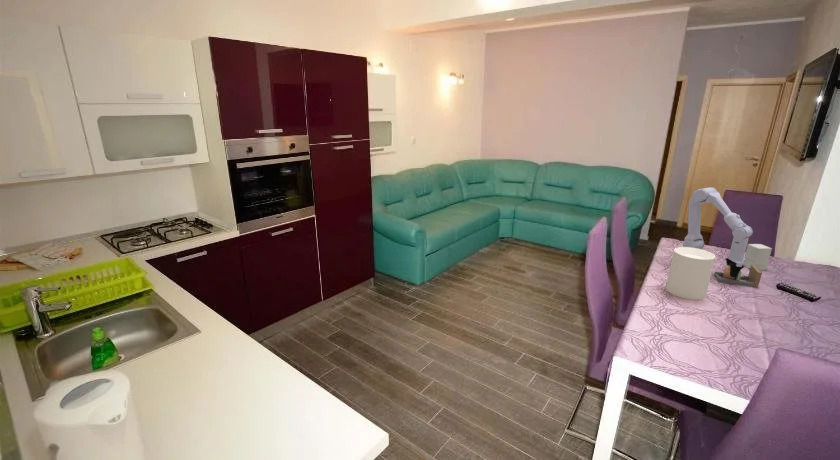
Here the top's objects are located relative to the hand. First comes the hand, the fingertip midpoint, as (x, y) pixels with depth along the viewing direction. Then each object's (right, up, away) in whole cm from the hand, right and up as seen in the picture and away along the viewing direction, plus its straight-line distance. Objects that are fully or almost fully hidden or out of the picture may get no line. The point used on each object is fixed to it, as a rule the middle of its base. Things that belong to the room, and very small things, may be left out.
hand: (731, 274), depth 194 cm
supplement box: (+25, +2, +16) cm, 30 cm away
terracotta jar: (-1, -1, +1) cm, 2 cm away
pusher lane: (+1, -3, 0) cm, 3 cm away
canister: (-31, -7, -10) cm, 33 cm away
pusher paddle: (+3, -3, 0) cm, 4 cm away
